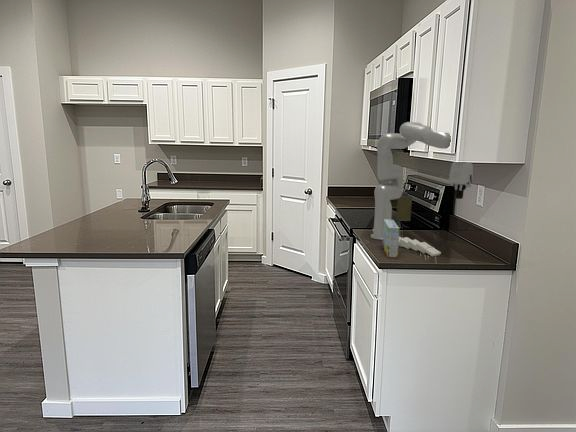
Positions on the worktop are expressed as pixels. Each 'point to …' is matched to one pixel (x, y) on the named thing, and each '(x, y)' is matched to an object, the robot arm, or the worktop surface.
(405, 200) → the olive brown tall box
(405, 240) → the domino
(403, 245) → the domino
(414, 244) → the domino
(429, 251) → the domino
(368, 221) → the worktop surface
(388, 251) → the snack box
